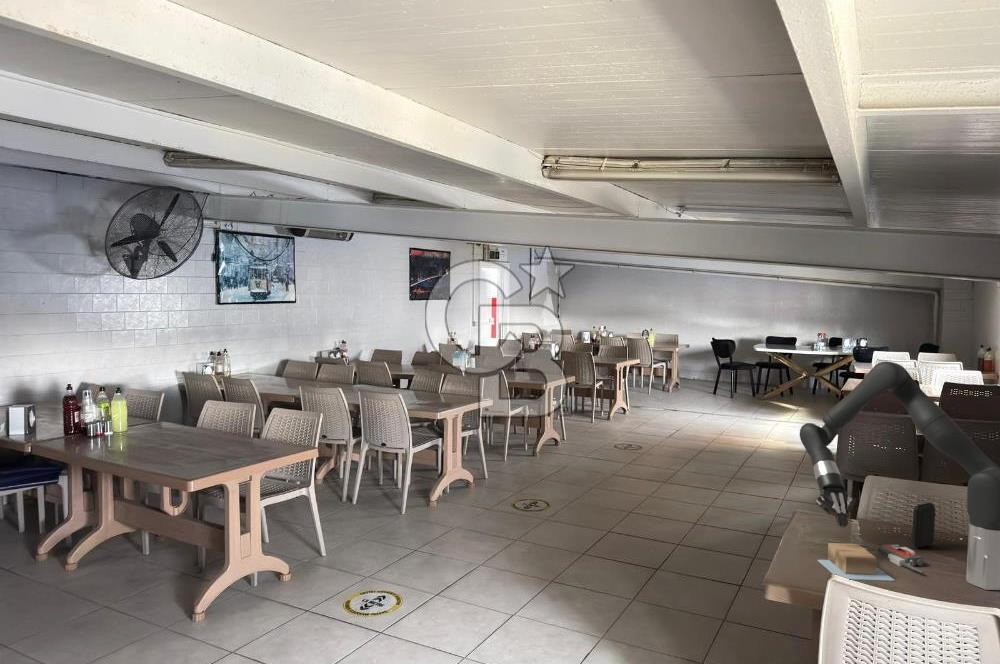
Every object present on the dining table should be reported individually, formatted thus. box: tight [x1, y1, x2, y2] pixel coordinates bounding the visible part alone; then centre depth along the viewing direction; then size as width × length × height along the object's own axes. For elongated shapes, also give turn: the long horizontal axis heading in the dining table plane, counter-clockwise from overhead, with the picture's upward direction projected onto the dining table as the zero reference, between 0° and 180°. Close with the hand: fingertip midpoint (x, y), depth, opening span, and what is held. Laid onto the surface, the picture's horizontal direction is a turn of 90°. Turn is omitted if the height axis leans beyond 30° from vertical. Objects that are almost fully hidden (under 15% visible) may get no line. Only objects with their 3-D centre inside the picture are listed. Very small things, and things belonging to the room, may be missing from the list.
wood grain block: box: [827, 542, 878, 574], centre depth 216 cm, size 5×9×12 cm
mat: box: [817, 559, 896, 582], centre depth 213 cm, size 15×16×1 cm
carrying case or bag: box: [911, 502, 937, 549], centre depth 236 cm, size 11×3×15 cm, turn 118°
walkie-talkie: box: [876, 543, 924, 575], centre depth 221 cm, size 9×4×20 cm
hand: (843, 526), depth 221 cm, fingers closed
